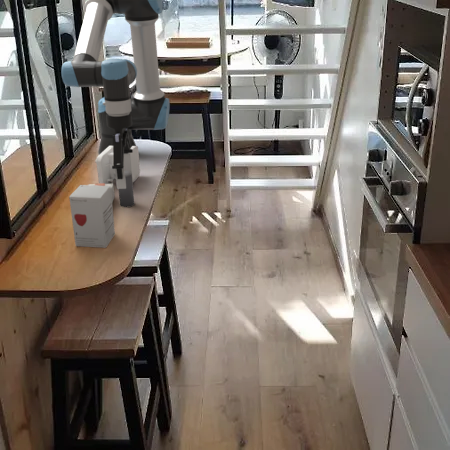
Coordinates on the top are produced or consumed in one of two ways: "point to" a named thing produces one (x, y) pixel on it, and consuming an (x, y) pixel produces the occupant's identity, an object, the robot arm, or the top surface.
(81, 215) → the supplement box
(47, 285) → the top surface
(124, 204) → the plug
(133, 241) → the top surface
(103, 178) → the cable organizer
